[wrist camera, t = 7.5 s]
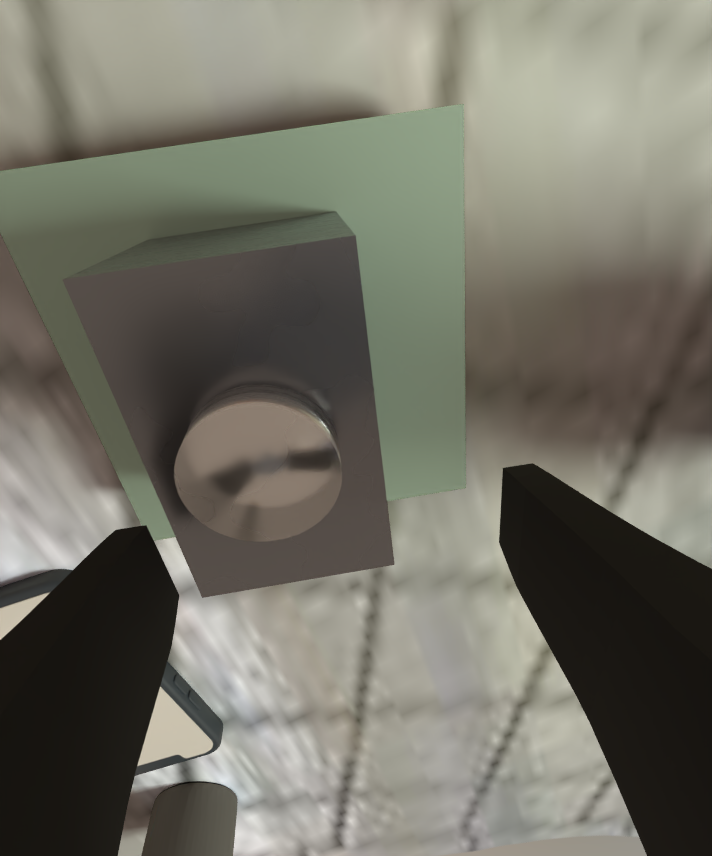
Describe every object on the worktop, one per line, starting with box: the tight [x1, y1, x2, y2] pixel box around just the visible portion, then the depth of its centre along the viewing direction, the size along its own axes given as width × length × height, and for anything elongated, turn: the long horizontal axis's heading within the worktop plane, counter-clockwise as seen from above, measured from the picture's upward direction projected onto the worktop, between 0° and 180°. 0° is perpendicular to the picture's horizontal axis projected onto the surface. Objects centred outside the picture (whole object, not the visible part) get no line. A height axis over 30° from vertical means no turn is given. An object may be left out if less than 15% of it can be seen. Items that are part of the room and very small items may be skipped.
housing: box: [62, 211, 394, 598], centre depth 11 cm, size 5×8×6 cm, turn 7°
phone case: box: [0, 569, 223, 776], centre depth 25 cm, size 9×2×16 cm
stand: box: [0, 104, 466, 541], centre depth 15 cm, size 12×12×3 cm
